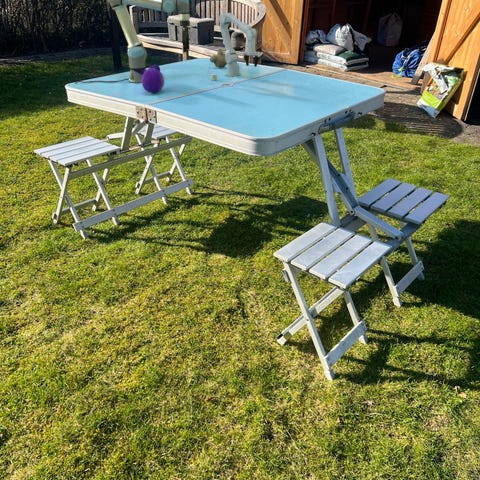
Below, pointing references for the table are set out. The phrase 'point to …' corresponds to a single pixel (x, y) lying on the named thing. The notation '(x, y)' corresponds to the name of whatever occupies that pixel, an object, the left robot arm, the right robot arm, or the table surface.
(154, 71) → the toy
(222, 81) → the table surface
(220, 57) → the teapot
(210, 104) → the table surface
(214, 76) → the cylinder
